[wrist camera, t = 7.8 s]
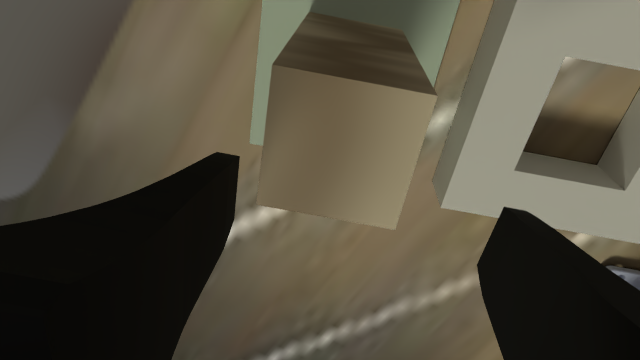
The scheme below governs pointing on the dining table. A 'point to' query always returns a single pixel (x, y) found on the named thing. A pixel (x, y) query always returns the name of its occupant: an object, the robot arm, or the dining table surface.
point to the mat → (360, 5)
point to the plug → (344, 122)
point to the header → (523, 110)
